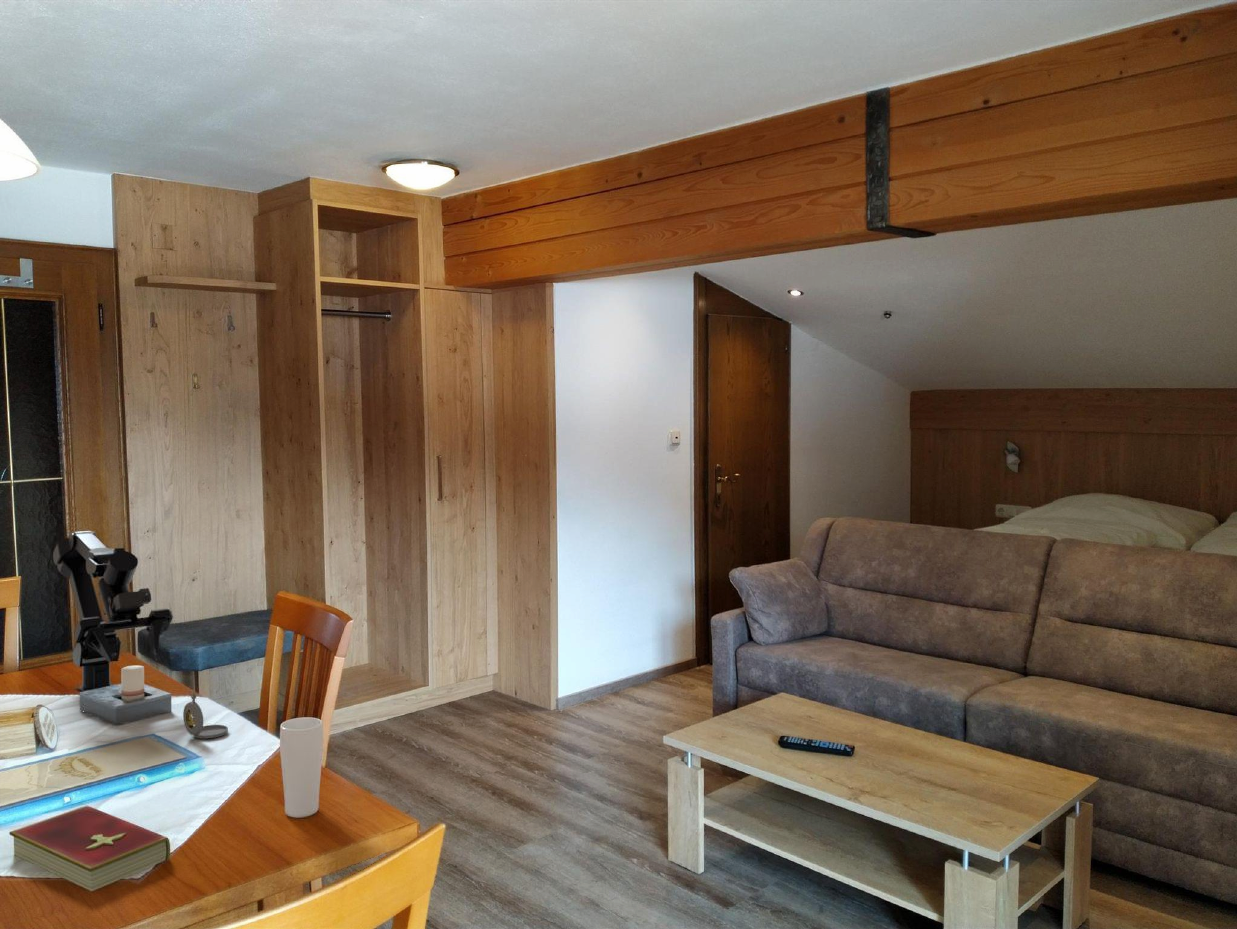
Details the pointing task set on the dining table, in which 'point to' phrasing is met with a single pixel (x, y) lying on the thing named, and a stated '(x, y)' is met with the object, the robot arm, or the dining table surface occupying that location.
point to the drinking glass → (301, 764)
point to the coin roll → (132, 683)
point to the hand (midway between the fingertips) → (134, 657)
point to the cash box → (124, 704)
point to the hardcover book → (90, 847)
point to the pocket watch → (200, 722)
